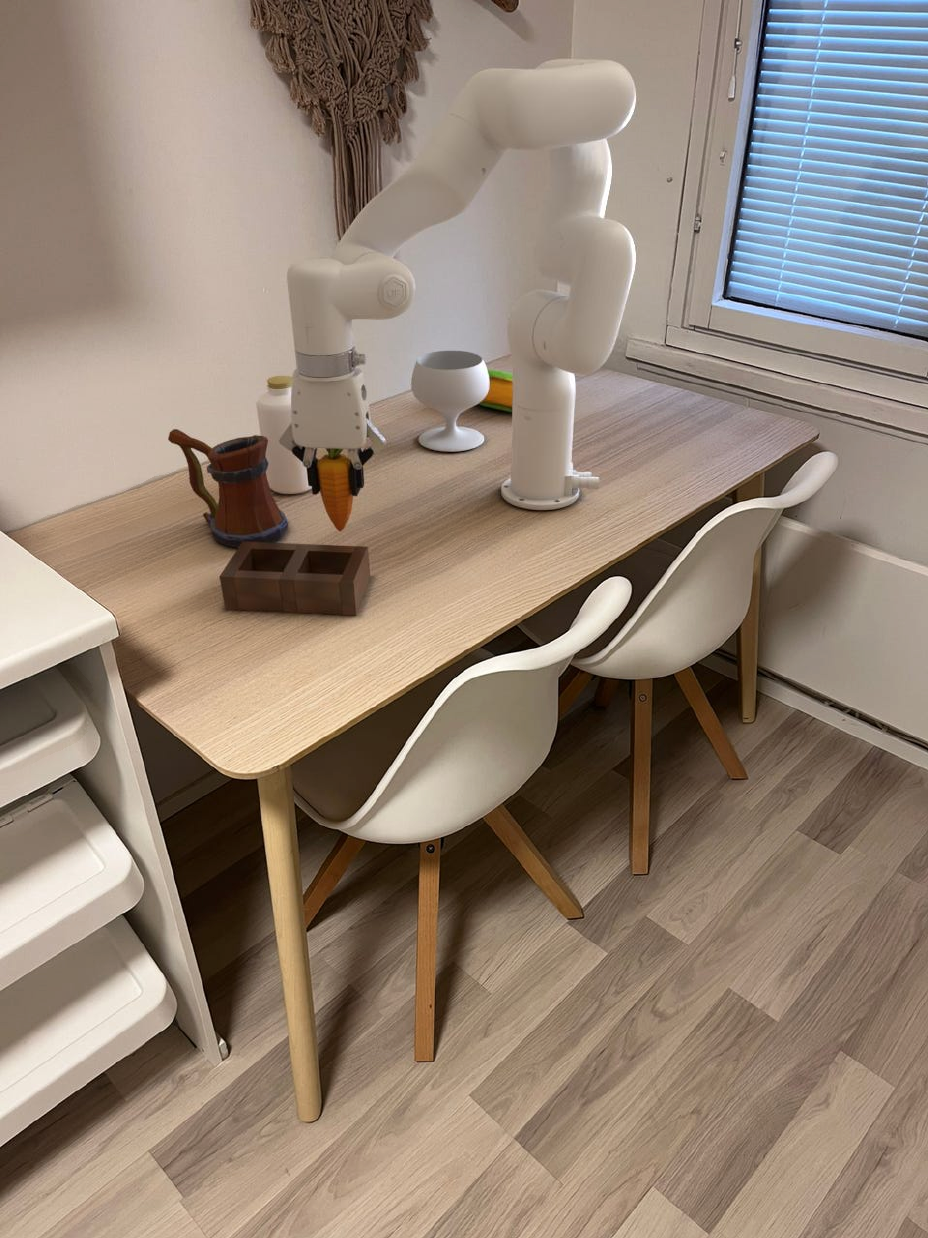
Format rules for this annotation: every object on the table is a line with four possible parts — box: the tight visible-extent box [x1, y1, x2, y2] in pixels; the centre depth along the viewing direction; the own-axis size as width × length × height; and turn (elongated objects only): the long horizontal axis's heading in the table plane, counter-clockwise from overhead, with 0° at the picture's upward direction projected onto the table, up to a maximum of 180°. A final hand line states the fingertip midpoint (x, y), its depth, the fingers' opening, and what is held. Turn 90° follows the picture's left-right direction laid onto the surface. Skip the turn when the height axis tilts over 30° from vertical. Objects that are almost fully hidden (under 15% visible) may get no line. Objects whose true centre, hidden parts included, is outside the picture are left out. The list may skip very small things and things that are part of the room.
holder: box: [219, 542, 371, 617], centre depth 119 cm, size 17×10×5 cm, turn 84°
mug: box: [167, 428, 289, 549], centre depth 133 cm, size 18×12×15 cm, turn 63°
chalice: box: [410, 350, 490, 452], centre depth 162 cm, size 14×14×15 cm
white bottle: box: [256, 375, 312, 495], centre depth 145 cm, size 8×8×18 cm
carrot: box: [317, 448, 354, 532], centre depth 125 cm, size 5×5×15 cm
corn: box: [477, 368, 513, 413], centre depth 178 cm, size 7×8×20 cm
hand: (336, 490), depth 126 cm, fingers closed on carrot, 4 cm apart
